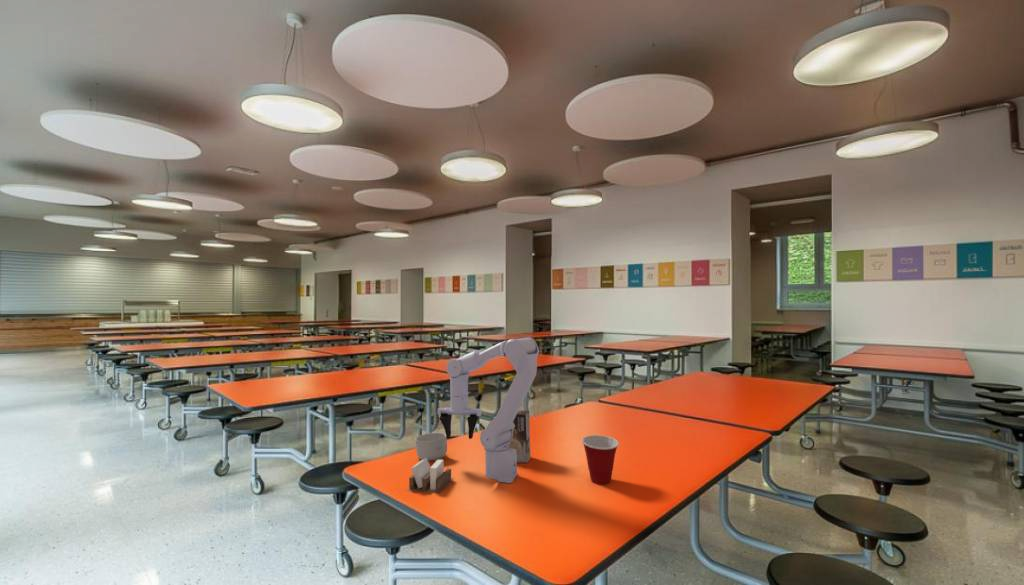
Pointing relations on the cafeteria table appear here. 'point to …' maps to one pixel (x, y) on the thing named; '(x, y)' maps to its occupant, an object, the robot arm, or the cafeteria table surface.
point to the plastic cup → (600, 457)
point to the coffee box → (521, 436)
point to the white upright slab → (436, 473)
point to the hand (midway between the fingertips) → (459, 437)
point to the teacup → (431, 446)
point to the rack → (440, 483)
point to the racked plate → (421, 471)
